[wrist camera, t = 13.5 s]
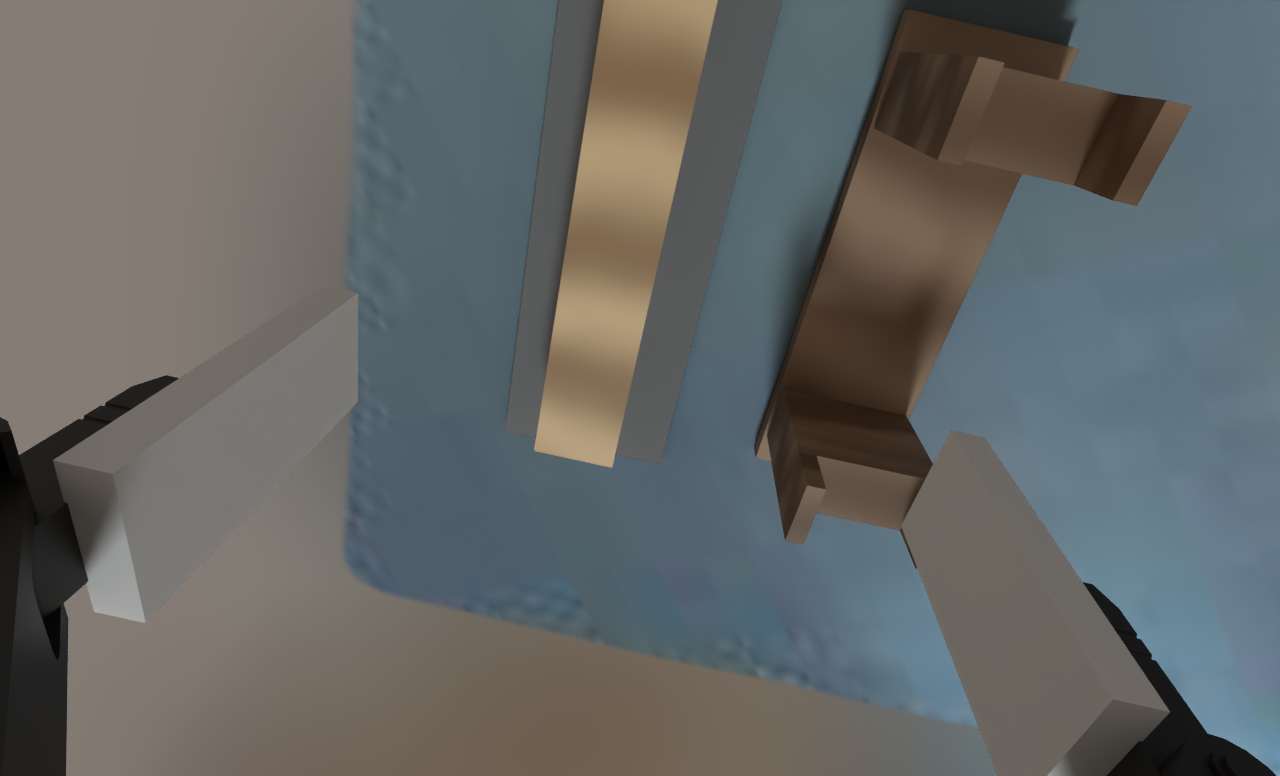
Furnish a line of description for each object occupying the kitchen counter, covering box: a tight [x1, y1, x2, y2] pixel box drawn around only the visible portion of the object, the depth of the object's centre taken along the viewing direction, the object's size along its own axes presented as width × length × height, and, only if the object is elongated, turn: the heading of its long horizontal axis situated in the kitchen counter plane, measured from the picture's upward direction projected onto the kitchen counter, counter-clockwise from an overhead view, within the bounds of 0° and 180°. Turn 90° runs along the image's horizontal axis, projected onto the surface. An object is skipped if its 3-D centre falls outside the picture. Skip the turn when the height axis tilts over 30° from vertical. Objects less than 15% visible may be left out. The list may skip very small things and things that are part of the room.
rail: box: [534, 0, 718, 468], centre depth 30 cm, size 22×4×4 cm, turn 168°
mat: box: [505, 0, 782, 464], centre depth 32 cm, size 26×9×1 cm, turn 168°
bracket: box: [754, 9, 1192, 569], centre depth 28 cm, size 22×7×10 cm, turn 168°
